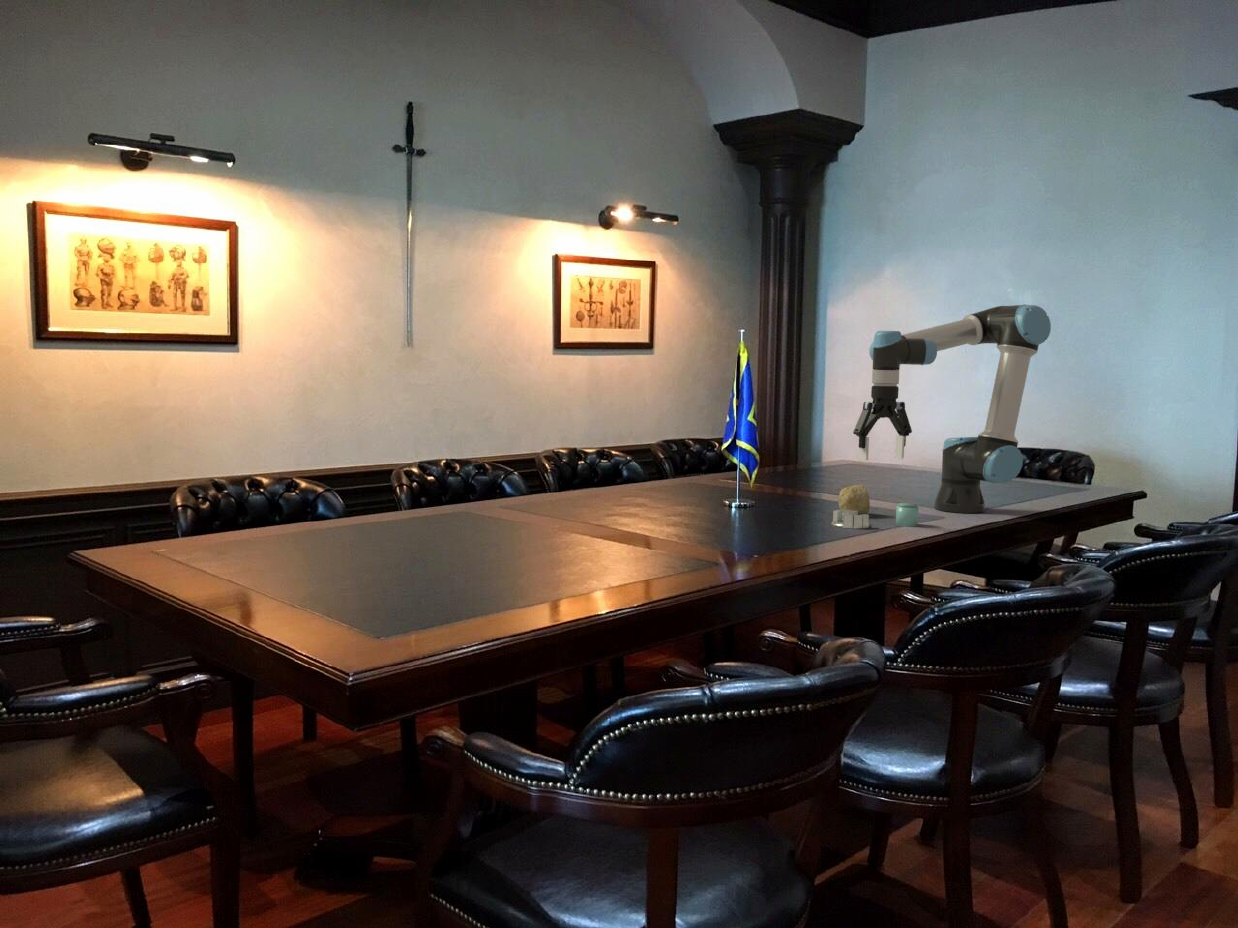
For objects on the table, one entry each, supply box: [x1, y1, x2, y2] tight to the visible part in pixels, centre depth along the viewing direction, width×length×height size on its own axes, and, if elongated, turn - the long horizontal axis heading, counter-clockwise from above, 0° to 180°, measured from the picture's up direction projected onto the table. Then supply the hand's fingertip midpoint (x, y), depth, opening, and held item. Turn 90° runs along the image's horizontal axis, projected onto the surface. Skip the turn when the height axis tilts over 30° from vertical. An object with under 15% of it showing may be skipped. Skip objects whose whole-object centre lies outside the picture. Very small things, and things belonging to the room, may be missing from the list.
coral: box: [838, 483, 871, 515], centre depth 312 cm, size 10×10×10 cm
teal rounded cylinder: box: [895, 502, 919, 528], centre depth 296 cm, size 6×6×6 cm
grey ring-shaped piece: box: [831, 509, 870, 530], centre depth 294 cm, size 10×10×4 cm
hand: (881, 459), depth 298 cm, fingers open, 13 cm apart
